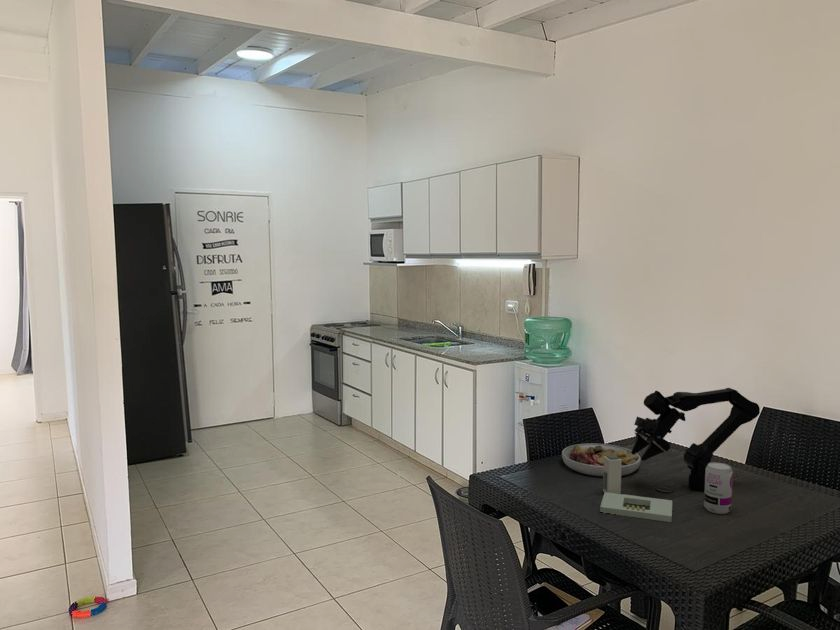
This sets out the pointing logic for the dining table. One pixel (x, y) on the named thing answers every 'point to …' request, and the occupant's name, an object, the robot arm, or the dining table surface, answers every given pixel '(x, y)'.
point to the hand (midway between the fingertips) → (636, 456)
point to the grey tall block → (612, 474)
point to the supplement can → (718, 488)
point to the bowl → (598, 458)
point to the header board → (657, 511)
